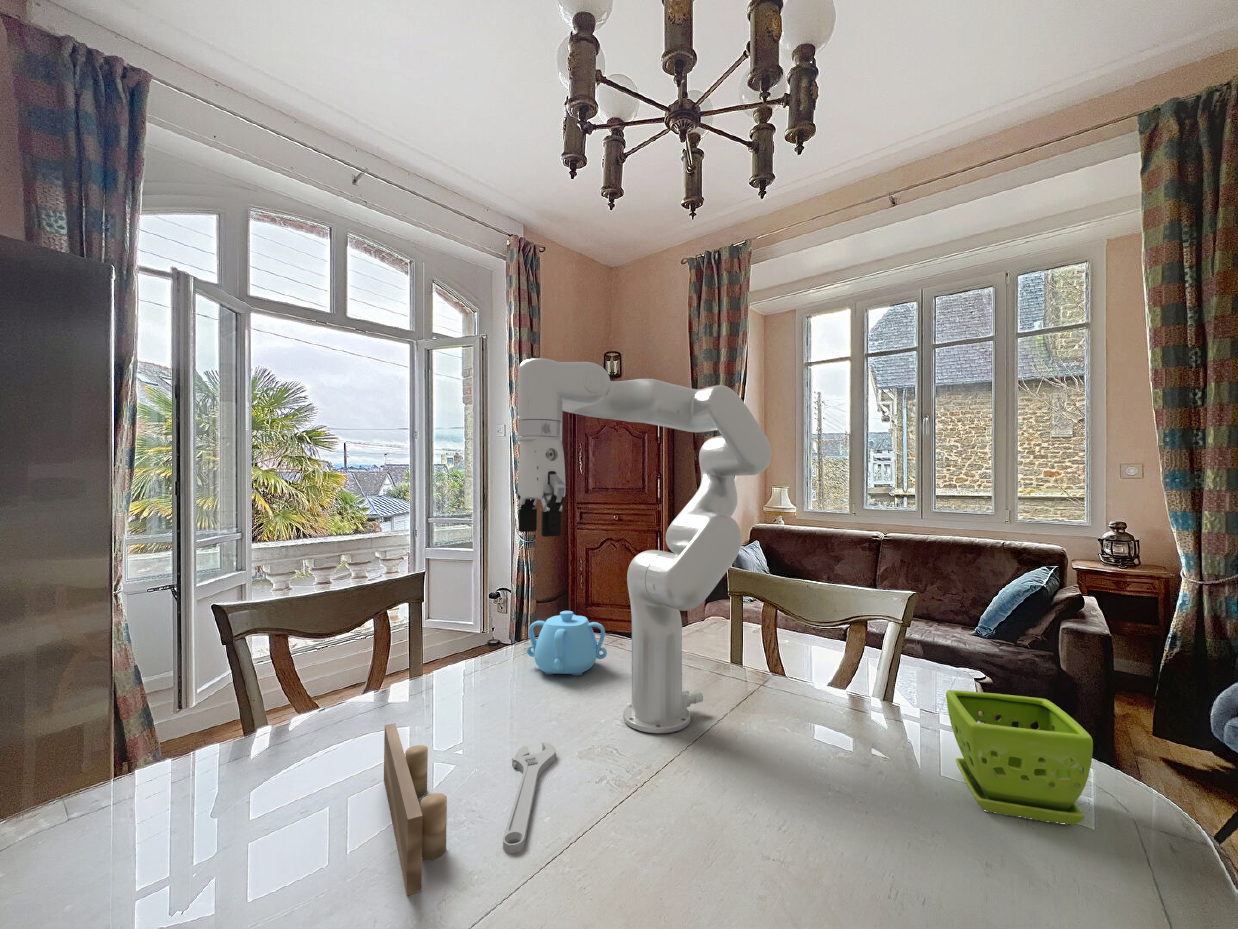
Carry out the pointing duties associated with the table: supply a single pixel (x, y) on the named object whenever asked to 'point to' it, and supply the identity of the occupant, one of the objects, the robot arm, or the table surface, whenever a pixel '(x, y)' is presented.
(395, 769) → the tool rack
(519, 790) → the adjustable wrench
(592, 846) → the table surface
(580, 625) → the decorative pot
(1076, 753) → the flower pot
